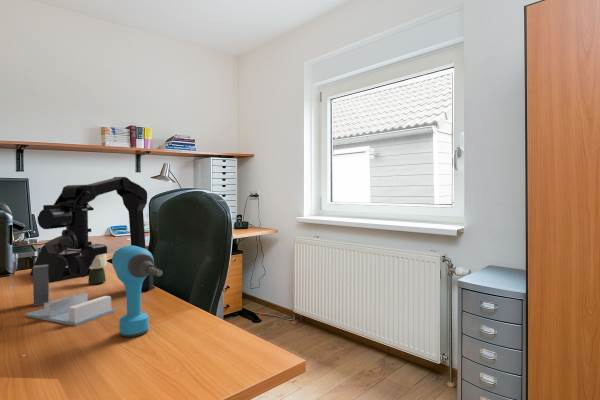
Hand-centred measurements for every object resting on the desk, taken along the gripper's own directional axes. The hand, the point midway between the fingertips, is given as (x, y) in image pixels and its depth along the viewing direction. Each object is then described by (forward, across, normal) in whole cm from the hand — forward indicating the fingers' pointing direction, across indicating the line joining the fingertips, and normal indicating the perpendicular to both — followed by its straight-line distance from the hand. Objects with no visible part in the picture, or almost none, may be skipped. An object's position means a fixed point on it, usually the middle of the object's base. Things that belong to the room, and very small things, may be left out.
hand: (78, 276), depth 108 cm
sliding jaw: (+11, -5, 0) cm, 12 cm away
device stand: (+12, -56, +36) cm, 68 cm away
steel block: (+12, -22, +3) cm, 26 cm away
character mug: (+12, -29, +29) cm, 43 cm away
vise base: (+12, -4, 0) cm, 13 cm away
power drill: (+12, +31, -6) cm, 34 cm away
